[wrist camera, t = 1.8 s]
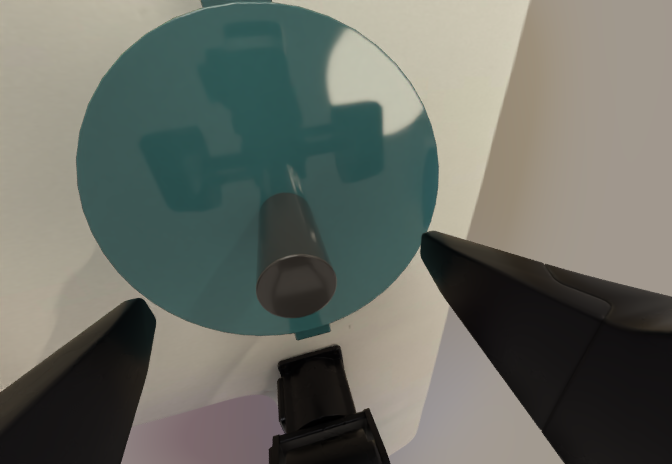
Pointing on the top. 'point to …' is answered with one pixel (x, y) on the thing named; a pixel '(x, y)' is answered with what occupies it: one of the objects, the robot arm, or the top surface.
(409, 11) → the top surface
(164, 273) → the lid
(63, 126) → the top surface
